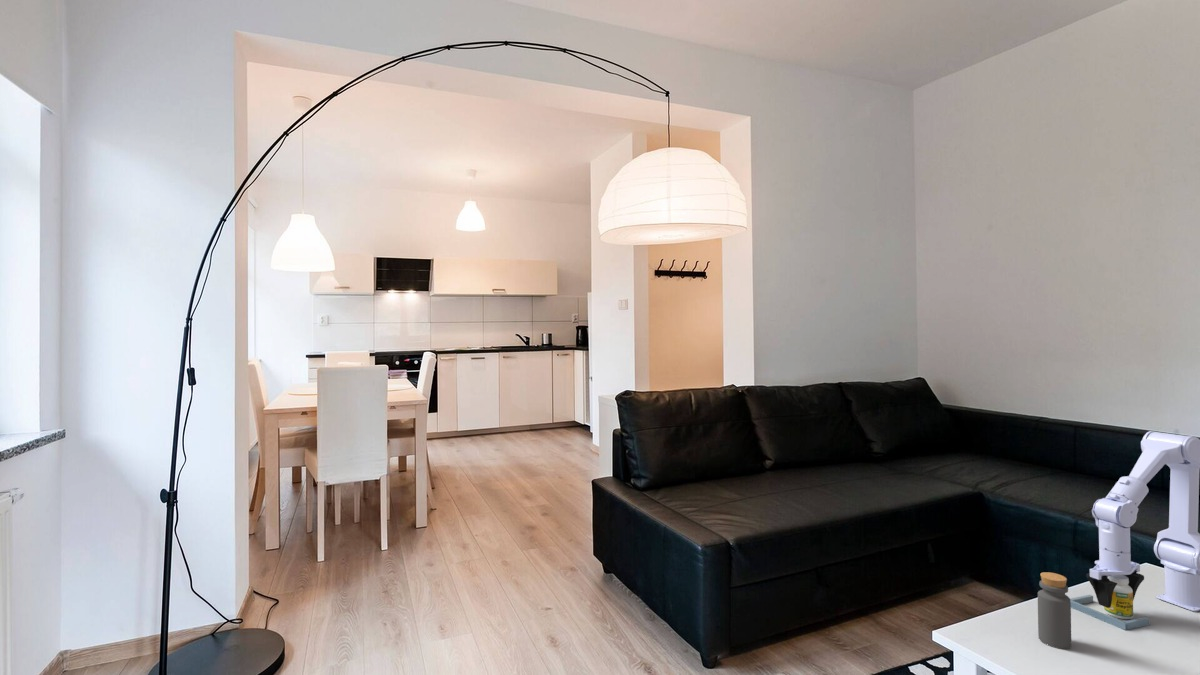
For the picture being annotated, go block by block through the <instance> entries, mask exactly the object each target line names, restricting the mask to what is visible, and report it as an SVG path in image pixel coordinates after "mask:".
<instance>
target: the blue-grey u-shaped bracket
mask: <svg viewBox="0 0 1200 675" xmlns="http://www.w3.org/2000/svg"><path fill="white" fill-rule="evenodd" d="M1070 602H1071V609H1074V610H1076V611H1079V612H1081V613H1084V614H1086V615H1088V616H1091V617H1094V618H1095V619H1098V620H1099V621H1103V622H1104V623H1107V624H1110V625H1112V626H1114V627H1116V628H1118V629H1121V630H1124V631H1128V630H1131V629H1136V628H1141V627H1144V626H1149V625H1150V622H1151V620H1150V617H1148V616H1143V617H1142V616H1141V617H1138V618H1134V619H1133V618H1132V619H1127V620H1124V621H1123V620H1122V619H1119V618H1116V617H1113V616H1111V615H1109V614H1107V613H1105V612H1104V613H1103V612H1101V611H1099V610H1096V609H1094V608H1091V607H1089V606H1086V605H1084V604H1089V603H1093V602H1094V595H1092V594H1087V595H1081V596H1076V597H1072V598H1070Z"/></svg>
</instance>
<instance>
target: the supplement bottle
mask: <svg viewBox="0 0 1200 675" xmlns="http://www.w3.org/2000/svg"><path fill="white" fill-rule="evenodd" d="M1108 579H1109V580H1110V581H1113V582H1115V583H1117V585H1116V586H1115V588H1114V591H1113V594H1112V603H1111V607H1110V608H1107V607H1104V606H1103V610H1104V613H1105V614H1106V615H1109V616H1111V617H1113V618H1116V619H1119V620H1133V618H1134V600H1133V590H1132V588H1131V587H1130V586H1129V585H1128V583H1129V579H1128V577H1126V576H1124V575H1113V576H1108Z"/></svg>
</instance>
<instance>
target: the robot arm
mask: <svg viewBox="0 0 1200 675" xmlns="http://www.w3.org/2000/svg"><path fill="white" fill-rule="evenodd" d="M1140 449H1141V454H1140V456H1139V457H1138V459H1137V461H1136V463H1135V464H1134V466H1133V468H1132V469H1131V471H1130V473H1129V475H1127V476H1125V475H1124V476H1121V477H1119V479H1118V481H1116V482H1115V484H1114V486H1112V488H1111V490H1110V491H1109V492H1108V494H1107V495H1106V496H1105V497H1102V498H1098V499H1096V501H1095V502H1094V503H1093V507H1092V509H1091V514H1092V517H1093V518H1094V520H1095V525H1096V527H1097V528H1098V549H1099V550H1098V552H1099V553H1098V554H1099V557H1098V558H1099V559H1097V560H1095V561H1094V564H1095V565H1094V567H1093V568H1089V572H1088V573H1086V575H1085V576H1086V578H1087V580H1088V582H1089V583H1090V585H1091V587H1092V589H1093V591H1094V594H1095V596H1096V599H1097V602H1098V605H1099V606H1103V608H1104V607H1107V608H1110V607H1111V603H1112V594H1113V591H1114V588H1115V586H1116V585H1117V583H1115V582H1113V581H1110V580H1109V579H1108V576H1113V575H1124V576H1126V577H1128V579H1129V583H1128V585H1129V586H1130V587H1131V588H1132V590H1133V601H1134V600H1135V596H1136V594H1137V591H1138V589H1139V587H1140V585H1141V584H1142V582H1144V581H1145V576H1144V575H1143V574H1141V573H1140V572H1141V564H1140V563H1137V562H1134V561H1132V560H1131V559H1132V558H1131V556H1132V555H1131V527H1132V526H1133V525H1134V524H1135V523H1136V521H1137V518H1138V512H1139V510H1140V508H1138V507H1139V506H1140V504H1141V502H1143V500H1144V498H1146V496H1147V495H1148V493H1149V487H1148V486H1147V484H1148V483H1149V482H1150V481H1151V480H1152V479H1153V478H1154V477H1155V476H1156V474H1158V472H1159V471H1160V470H1161V469H1163V467H1164V466H1165V465H1166V466H1168V467H1169V469H1170V475H1169V477H1170V480H1169V509H1168V510H1169V512H1168V514H1169V515H1168V528H1166V529H1163V530H1162V529H1161V530H1160V531H1158V532H1157V535H1156V541H1155V542H1154V545H1153V552H1154V554H1155V557H1156V558H1157V559H1158V560H1160V564H1162V565H1163V566H1164V568H1163V569H1164V572H1163V574H1164V594H1163V593H1162V594H1157V595H1156V596H1155V598H1156V599H1159V600H1162V601H1164V602H1165V603H1166V602H1167V603H1170V604H1172V605H1176V606H1178V607H1180V608H1183V609H1186V610H1189V611H1191V612H1198V611H1200V533H1199V502H1200V501H1199V495H1200V438H1199V437H1197V436H1194V435H1189V436H1188V435H1181V434H1176V433H1175V434H1174V433H1167V432H1159V431H1155V430H1149V431H1147V432H1146V433H1145V434H1144V435H1143V437H1142V439H1141V441H1140Z"/></svg>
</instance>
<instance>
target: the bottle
mask: <svg viewBox="0 0 1200 675" xmlns="http://www.w3.org/2000/svg"><path fill="white" fill-rule="evenodd" d="M1040 579H1041V580H1039V584H1038V585H1039V587H1040V588H1041V589H1040V590H1038V592H1037V628H1038V631H1037V632H1038V639H1040V640H1041V641H1042V642H1041V641H1040V640H1039V641H1040V642H1041V643H1043V642H1044V643H1043V644H1045V643H1046V644H1045V645H1047V644H1048V645H1047V646H1049V645H1050V646H1049V647H1052V646H1054V647H1053V648H1055V647H1057V648H1056V649H1062V650H1063V649H1064V650H1067V649H1071V647H1072V607H1071V602H1070V599H1071V598H1070V596H1068V595H1067V594H1068V592H1069V587H1068V585H1067V581H1068V579H1067V577H1066V576H1064V575H1062V574H1059V573H1055V572H1049V571H1048V572H1046V571H1045V572H1041V573H1040ZM1066 593H1067V594H1066Z"/></svg>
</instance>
